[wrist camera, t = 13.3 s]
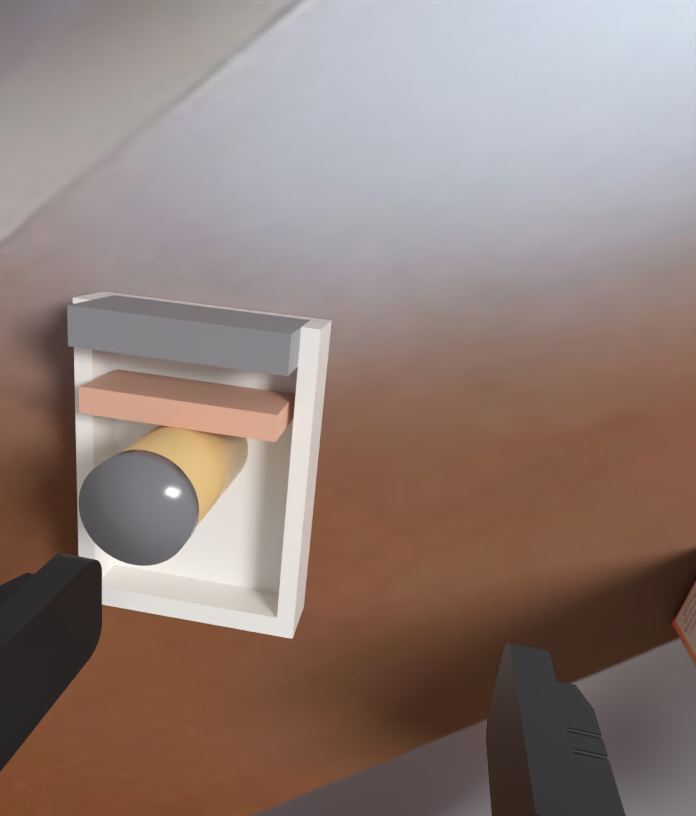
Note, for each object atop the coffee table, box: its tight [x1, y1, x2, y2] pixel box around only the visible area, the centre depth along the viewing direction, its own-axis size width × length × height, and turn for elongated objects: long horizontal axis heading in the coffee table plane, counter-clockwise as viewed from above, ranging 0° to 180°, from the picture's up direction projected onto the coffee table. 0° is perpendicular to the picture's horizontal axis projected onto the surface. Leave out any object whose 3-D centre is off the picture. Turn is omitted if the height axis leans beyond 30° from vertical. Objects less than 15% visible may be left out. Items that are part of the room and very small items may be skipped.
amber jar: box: [79, 425, 248, 566], centre depth 32 cm, size 5×5×9 cm
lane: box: [67, 292, 332, 639], centre depth 35 cm, size 18×13×5 cm
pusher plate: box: [79, 369, 295, 442], centre depth 33 cm, size 1×10×4 cm, turn 84°
